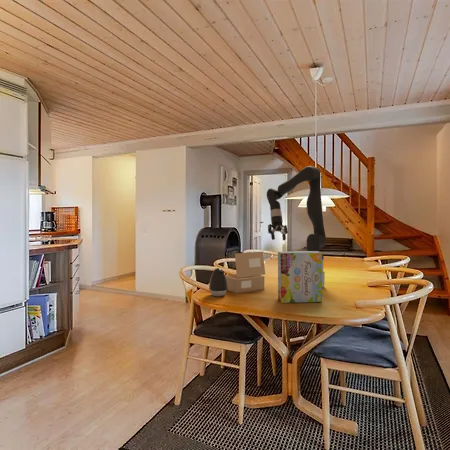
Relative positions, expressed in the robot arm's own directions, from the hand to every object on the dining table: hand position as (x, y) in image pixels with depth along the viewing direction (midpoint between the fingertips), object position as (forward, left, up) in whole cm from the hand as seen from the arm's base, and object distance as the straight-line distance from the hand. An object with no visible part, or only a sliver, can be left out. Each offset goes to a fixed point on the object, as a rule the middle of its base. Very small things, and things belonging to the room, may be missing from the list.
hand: (278, 239), depth 222 cm
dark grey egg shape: (-14, +54, -28) cm, 62 cm away
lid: (-14, +33, -12) cm, 38 cm away
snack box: (-45, +23, -28) cm, 58 cm away
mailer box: (-8, +33, -28) cm, 44 cm away
